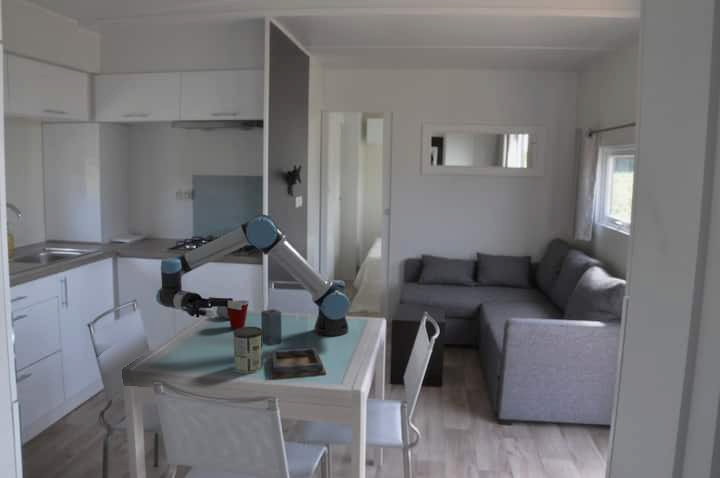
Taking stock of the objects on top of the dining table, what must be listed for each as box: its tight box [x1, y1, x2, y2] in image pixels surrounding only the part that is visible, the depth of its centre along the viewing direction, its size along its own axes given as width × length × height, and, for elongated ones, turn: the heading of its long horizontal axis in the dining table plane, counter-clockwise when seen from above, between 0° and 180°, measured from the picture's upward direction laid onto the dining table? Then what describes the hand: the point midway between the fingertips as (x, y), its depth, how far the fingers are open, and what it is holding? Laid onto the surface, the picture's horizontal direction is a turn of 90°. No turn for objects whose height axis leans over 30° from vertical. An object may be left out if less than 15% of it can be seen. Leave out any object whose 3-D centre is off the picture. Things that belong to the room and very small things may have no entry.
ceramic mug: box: [216, 307, 229, 320], centre depth 254 cm, size 11×8×8 cm
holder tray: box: [268, 347, 327, 380], centre depth 193 cm, size 19×19×4 cm
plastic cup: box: [226, 299, 250, 331], centre depth 237 cm, size 11×11×12 cm
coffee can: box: [232, 326, 264, 374], centre depth 190 cm, size 10×10×14 cm
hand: (227, 310), depth 193 cm, fingers open, 13 cm apart
